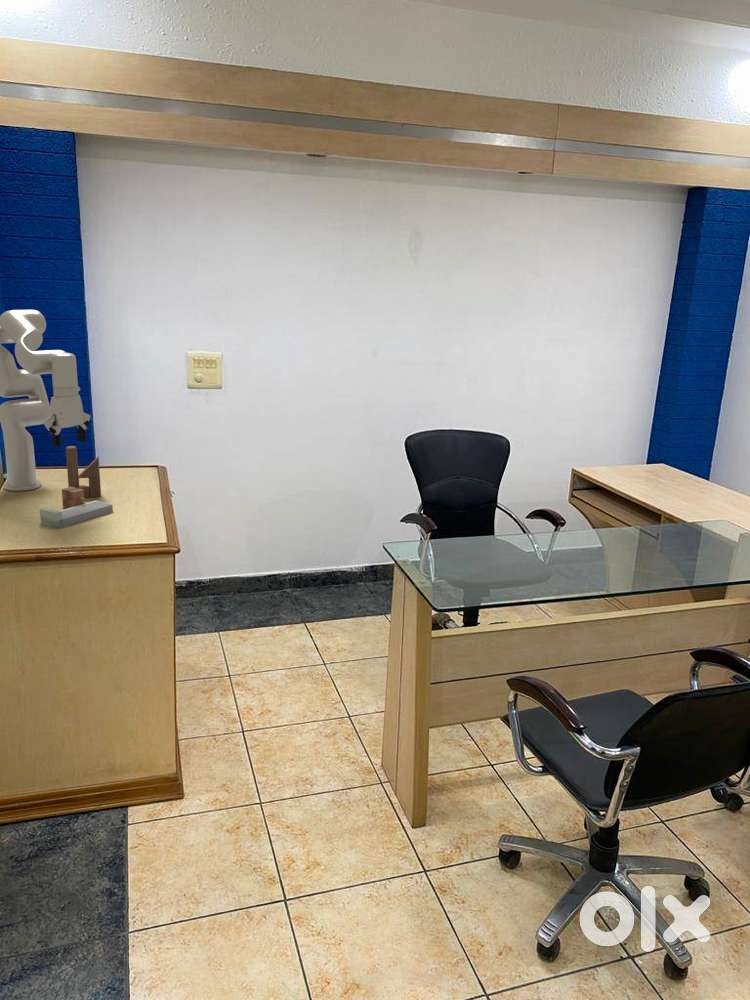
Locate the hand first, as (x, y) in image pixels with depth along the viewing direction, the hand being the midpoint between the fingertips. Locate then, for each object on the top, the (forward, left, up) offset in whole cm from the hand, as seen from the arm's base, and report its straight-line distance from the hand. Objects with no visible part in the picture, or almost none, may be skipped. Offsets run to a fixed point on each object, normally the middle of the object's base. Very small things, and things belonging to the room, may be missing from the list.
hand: (69, 443), depth 260 cm
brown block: (+1, 0, -23) cm, 23 cm away
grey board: (+8, -5, -23) cm, 24 cm away
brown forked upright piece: (-9, +12, -23) cm, 27 cm away
